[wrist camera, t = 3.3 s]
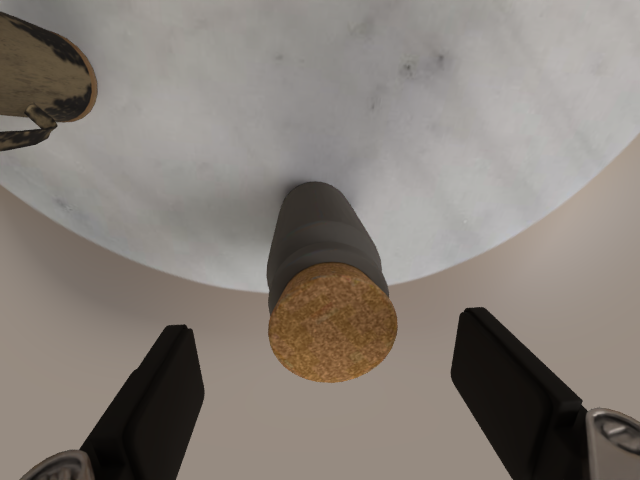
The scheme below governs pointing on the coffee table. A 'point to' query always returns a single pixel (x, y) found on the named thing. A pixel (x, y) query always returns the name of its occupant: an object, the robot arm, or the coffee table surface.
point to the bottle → (326, 289)
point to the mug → (41, 80)
